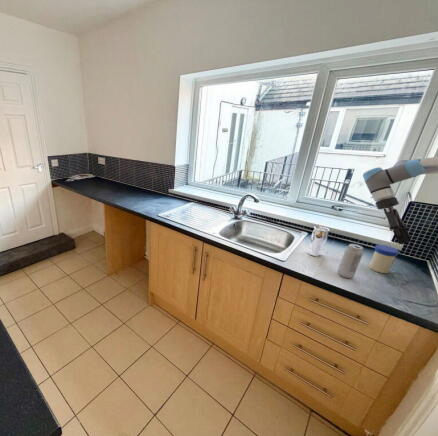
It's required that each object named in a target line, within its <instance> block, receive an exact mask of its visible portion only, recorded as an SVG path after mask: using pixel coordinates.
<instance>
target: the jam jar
mask: <svg viewBox="0 0 438 436" xmlns="http://www.w3.org/2000/svg"><path fill="white" fill-rule="evenodd" d="M395 259H396V256H395V257H392V256H386V255H382V254H380V253H377V252H376V251H375V250H374V252H373V254H372V257H371V260H370V262H369V265H368V268H369V269H371V270H373V271H374V272H377V273H381V274H389V273H390V271H391V268H392V266H393V263H394V261H395Z"/></svg>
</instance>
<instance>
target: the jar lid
mask: <svg viewBox="0 0 438 436" xmlns="http://www.w3.org/2000/svg"><path fill="white" fill-rule="evenodd" d="M373 250H374V252H375V251H376V252H377V253H380V254H382V255H386V256H392V257H395V258H396V257H398V255H399V252H400V251H399V249H398V248H395V247H392V246H389V245H385V244H376V245H375V247H374V249H373Z"/></svg>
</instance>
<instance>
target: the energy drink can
mask: <svg viewBox="0 0 438 436" xmlns="http://www.w3.org/2000/svg"><path fill="white" fill-rule="evenodd" d="M364 252H365V251H364V247H363V246H362V245H360V244H356V243H349V244H348V246H346V247H345V250H344V253H343V256H342V258H341V261H340V263H339V266H338V269H337V273H338V275H339V276H341V277H343V278H346V279H352V278H353V277H355V274H356V272H357V269H358V268H359V265H360V262H361V260H362V257H363V255H364Z"/></svg>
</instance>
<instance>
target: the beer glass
mask: <svg viewBox="0 0 438 436" xmlns="http://www.w3.org/2000/svg"><path fill="white" fill-rule="evenodd" d="M330 230H331V229H329V228H328V227H326V226H324V225H323V226H321V225H315V226H314V228H313V230H312V233H311V235H310V245H309V248H308V250H307V253H308V254H309V255H310V256H313V257H321V256H322V250H323V248H324V246H325V244H326V243H327V240H328V238H329V235H330Z"/></svg>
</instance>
